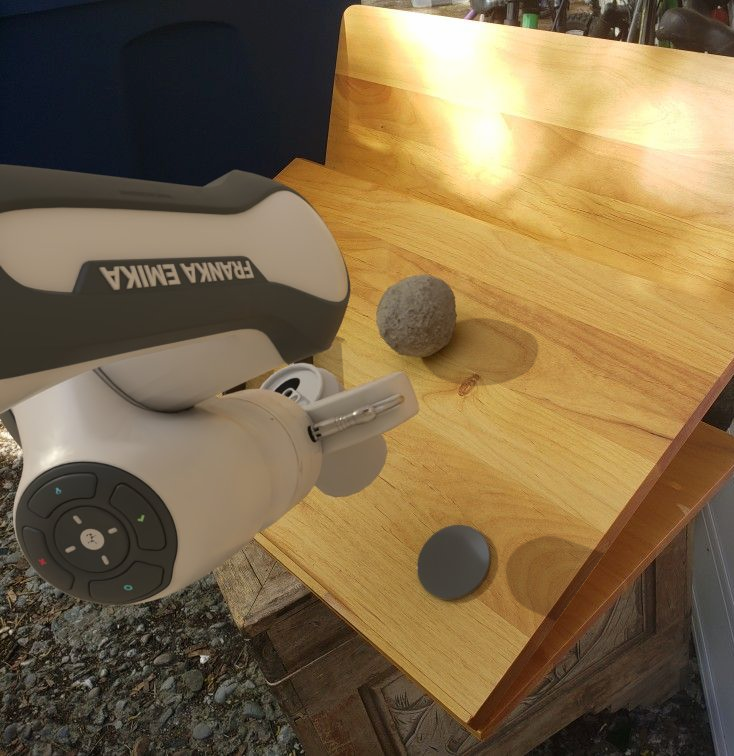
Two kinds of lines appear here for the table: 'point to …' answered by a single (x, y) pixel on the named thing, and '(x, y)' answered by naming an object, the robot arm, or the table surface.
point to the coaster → (454, 562)
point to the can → (344, 466)
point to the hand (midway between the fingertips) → (318, 421)
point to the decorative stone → (417, 315)
